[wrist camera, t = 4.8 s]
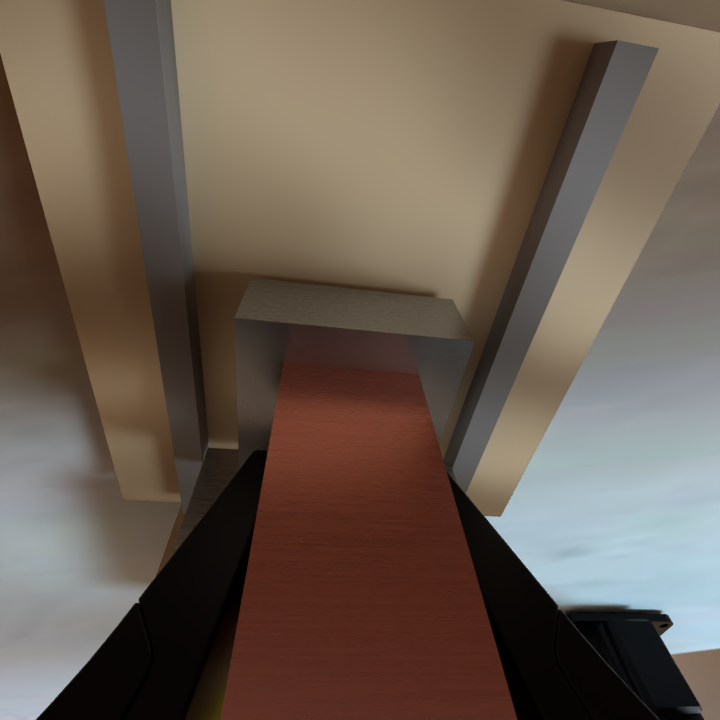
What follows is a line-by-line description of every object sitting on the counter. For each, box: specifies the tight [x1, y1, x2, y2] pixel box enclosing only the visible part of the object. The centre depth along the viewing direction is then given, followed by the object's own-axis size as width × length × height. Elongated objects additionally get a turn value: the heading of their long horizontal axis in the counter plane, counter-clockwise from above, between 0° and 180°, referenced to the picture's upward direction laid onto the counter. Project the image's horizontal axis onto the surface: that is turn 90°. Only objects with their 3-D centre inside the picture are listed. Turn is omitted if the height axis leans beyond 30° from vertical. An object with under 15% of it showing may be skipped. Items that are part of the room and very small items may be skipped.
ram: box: [171, 278, 517, 720], centre depth 8 cm, size 6×7×9 cm
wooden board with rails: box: [0, 0, 720, 517], centre depth 11 cm, size 15×14×2 cm
